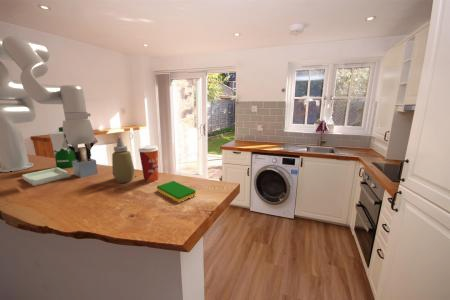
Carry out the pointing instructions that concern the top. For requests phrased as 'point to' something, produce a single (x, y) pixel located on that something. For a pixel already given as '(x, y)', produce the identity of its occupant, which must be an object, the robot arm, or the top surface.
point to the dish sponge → (176, 191)
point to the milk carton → (61, 150)
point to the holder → (84, 168)
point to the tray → (46, 176)
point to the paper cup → (149, 162)
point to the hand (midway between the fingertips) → (83, 159)
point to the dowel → (83, 154)
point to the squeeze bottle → (122, 163)
